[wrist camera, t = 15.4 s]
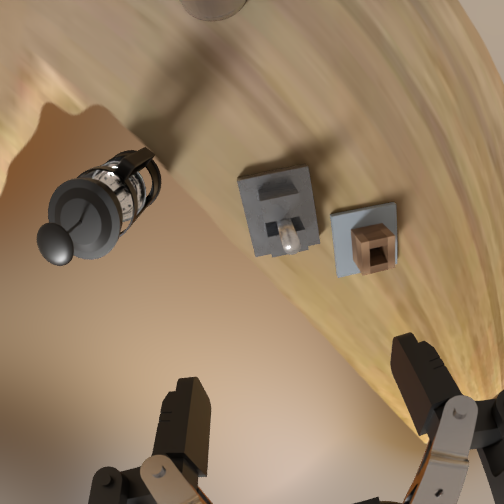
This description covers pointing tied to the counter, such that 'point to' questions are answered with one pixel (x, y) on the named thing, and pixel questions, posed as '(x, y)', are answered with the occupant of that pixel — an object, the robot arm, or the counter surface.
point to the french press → (97, 207)
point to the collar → (377, 257)
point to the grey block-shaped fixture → (280, 210)
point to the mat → (358, 219)
